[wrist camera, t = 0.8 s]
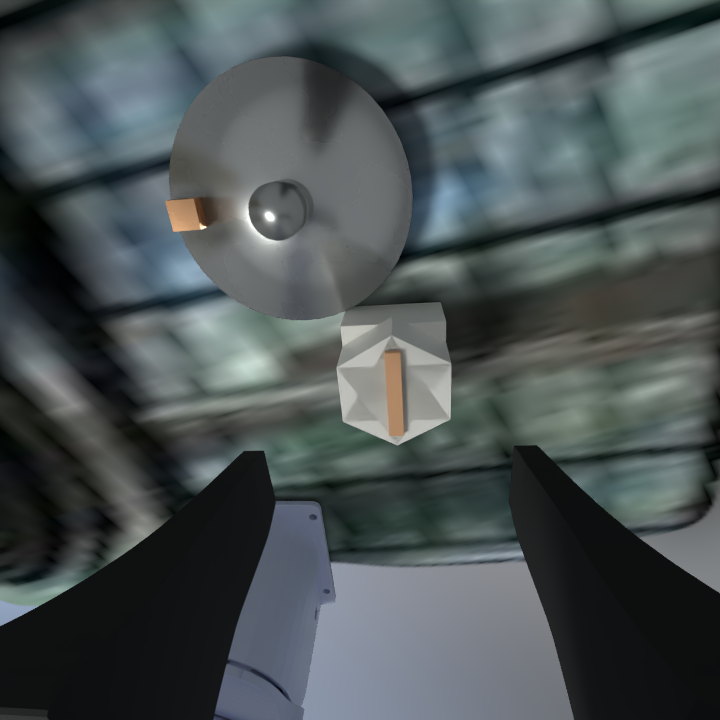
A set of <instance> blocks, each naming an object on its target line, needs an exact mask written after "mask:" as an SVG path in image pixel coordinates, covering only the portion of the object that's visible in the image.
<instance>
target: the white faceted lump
mask: <svg viewBox="0 0 720 720" xmlns="http://www.w3.org/2000/svg"><path fill="white" fill-rule="evenodd" d="M341 335H342V344H343V347H342V351H341V354H340V358H339V361H338V365H337V375H338V383H339V392H340V400H341V408H342V417H343V422H345V423H347V424H350V425H352V426H354V427H356V428H359V429H361V430H363V431H366V432H368V433H370V434H372V435H375V436H377V437H379V438H382V439H384V440H386V441H388V442H391V443H393V444H395V445H399V444H401V443H403V442H405V441H407V440H409V439H411V438H413V437H416V436H418V435H420V434H422V433H424V432H426V431H428V430H430V429H432V428H434V427H436V426H438V425H440V424H442V423H444V422H446V421H448V420H450V413H451V360H450V356H449V352H448V348H447V345H446V319H445V316H444V312H443V309H442V305H441V302H432V303H412V304H392V305H373V306H354V307H352V308H350V309H348V310H346V311H345V314H344V317H343V320H342V323H341Z"/></svg>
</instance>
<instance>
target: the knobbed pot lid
mask: <svg viewBox="0 0 720 720" xmlns="http://www.w3.org/2000/svg"><path fill="white" fill-rule="evenodd" d="M169 184H170V195H171V200H167V201H165V202H166V206H167V209H168V213H169V217H170V220H171V224H172V228H173V232H175V231H180V233H181V235H182V238H183V240H184V242H185V244H186V246H187V248H188V250H189V251H190V253H191V255H192V256H193V258H194V260H195V261H196V262H197V264H198V265H199V266H200V268H201V269H202V270H203V272H204V273H205V274H206V275H207V276H208V277H209V278H210V279H211V280H212V281H213V283H214V284H215V285H217V286H218V287H219V288H220V289H221V290H222V291H224V292H225V293H226V294H227V295H229V296H230V297H232V298H233V299H235V300H236V301H238V302H239V303H241V304H243V305H245V306H247V307H249V308H250V309H253V310H255V311H258V312H260V313H263V314H265V315H269V316H273V317H277V318H282V319H290V320H312V319H320V318H325V317H329V316H333V315H336V314H338V313H341V312H343V311H346V310H348V309H350V308H352V307H354V306H355V305H357V304H359V303H360V302H362V301H363V300H364V299H366V298H367V297H369V296H370V295H371V294H372V293H373V292H374V291H375V290H376V289H377V288H378V287H379V286H380V285H381V284H382V283H383V282H384V281H385V279H386V278H387V277H388V276H389V274H390V273H391V271H392V270H393V268H394V266H395V265H396V263H397V261H398V260H399V257H400V255H401V253H402V251H403V248H404V246H405V243H406V239H407V236H408V233H409V229H410V223H411V217H412V201H413V193H412V182H411V175H410V170H409V165H408V161H407V158H406V155H405V152H404V149H403V146H402V143H401V141H400V139H399V137H398V135H397V133H396V131H395V129H394V127H393V125H392V123H391V122H390V120H389V119H388V117H387V116H386V114H385V113H384V111H383V110H382V109H381V107H380V106H379V105H378V104H377V103H376V102H375V100H374V99H373V98H372V97H371V96H370V95H369V94H368V93H367V92H366V91H365V90H363V89H362V88H361V87H360V86H359V85H358V84H357V83H355V82H354V81H353V80H351V79H349V78H348V77H346V76H345V75H343V74H342V73H340V72H339V71H337V70H334V69H332V68H330V67H328V66H326V65H324V64H321V63H318V62H314V61H311V60H307V59H303V58H295V57H287V56H280V57H265V58H260V59H255V60H250V61H248V62H245V63H243V64H240V65H237V66H235V67H233V68H231V69H229V70H228V71H226V72H224V73H223V74H221V75H219V76H218V77H217V78H215V79H214V80H213V81H212V82H211V83H209V84H208V85H207V86H206V87H205V88H204V89H203V90H202V91H201V92H200V94H199V95H198V96H197V97H196V98H195V99H194V101H193V102H192V104H191V105H190V107H189V108H188V110H187V112H186V113H185V115H184V117H183V119H182V121H181V124H180V126H179V128H178V130H177V134H176V137H175V140H174V144H173V147H172V154H171V160H170V174H169Z"/></svg>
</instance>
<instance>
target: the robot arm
mask: <svg viewBox="0 0 720 720" xmlns="http://www.w3.org/2000/svg"><path fill="white" fill-rule="evenodd" d="M509 504H510V508H511V513H512V517H513V521H514V525H515V530H516V534H517V537H518V540H519V543H520V546H521V549H522V551H523V554H524V557H525V560H526V562H527V565H528V568H529V571H530V573H531V576H532V579H533V582H534V584H535V587H536V589H537V593H538V595H539V598H540V601H541V603H542V606H543V609H544V612H545V614H546V617H547V620H548V623H549V626H550V629H551V632H552V636H553V639H554V642H555V647H556V650H557V654H558V658H559V661H560V665H561V669H562V672H563V677H564V681H565V685H566V689H567V692H568V696H569V700H570V704H571V708H572V712H573V716H574V720H720V593H719V592H717V591H715V590H714V589H712V588H711V587H709V586H707V585H706V584H704V583H703V582H701V581H700V580H698V579H697V578H695V577H694V576H692V575H691V574H689V573H687V572H686V571H684V570H683V569H681V568H680V567H679V566H677V565H675V564H674V563H673V562H671V561H670V560H668V559H667V558H666V557H664V556H663V555H662V554H660V553H659V552H657V551H656V550H655V549H653V548H652V547H650V546H649V545H648V544H646V543H645V542H643V541H642V540H641V539H640V538H638V537H637V536H636V535H635V534H633V533H632V532H631V531H629V530H628V529H627V528H626V527H624V526H623V525H622V524H621V523H620V522H618V521H617V520H616V519H615V518H614V517H612V516H611V515H610V514H609V513H608V512H606V511H605V510H604V509H603V508H602V507H601V506H600V505H598V504H597V503H596V502H595V501H594V500H593V499H592V498H591V497H590V496H589V495H588V494H586V493H585V492H584V491H583V490H582V489H581V488H580V487H579V486H578V485H577V484H576V483H575V482H574V481H573V480H572V479H570V478H569V477H568V476H567V475H566V474H565V473H564V472H563V471H562V470H561V469H560V468H559V467H558V466H557V465H556V464H555V463H554V462H553V461H552V460H551V459H550V458H549V457H548V456H547V455H546V454H545V453H544V452H543V451H542V450H541V449H540V448H539V447H538V446H537V445H533V446H514V452H513V463H512V473H511V484H510V495H509ZM312 514H314V515H315V516H314V515H312ZM335 597H336V595H335V589H334V583H333V576H332V571H331V564H330V558H329V552H328V546H327V540H326V534H325V528H324V522H323V516H322V510H321V506H320V504H319V503H317V502H315V501H276V500H275V496H274V491H273V487H272V483H271V479H270V474H269V470H268V466H267V462H266V458H265V453H264V451H244V452H243V453H242V454H240V455H239V456H238V457H237V458H236V459H235V460H234V461H233V462H232V463H231V464H230V465H229V466H228V467H227V468H226V469H225V470H224V471H222V472H221V473H220V474H219V475H218V476H217V477H216V478H215V479H214V480H213V481H212V482H211V483H210V484H209V485H208V486H207V487H206V488H204V489H203V490H202V491H201V492H200V493H199V494H198V495H197V496H196V497H195V498H194V499H193V500H191V501H190V502H189V503H188V504H187V505H186V506H184V507H183V508H182V509H181V510H180V511H179V512H177V513H176V514H175V515H174V516H173V517H172V518H170V519H169V520H168V521H167V522H166V523H165V524H163V525H162V526H161V527H160V528H158V529H157V530H156V531H155V532H153V533H152V534H151V535H149V536H148V537H147V538H145V539H144V540H143V541H141V542H140V543H139V544H137V545H136V546H135V547H133V548H132V549H130V550H129V551H128V552H126V553H125V554H123V555H122V556H120V557H119V558H117V559H116V560H114V561H113V562H111V563H110V564H108V565H107V566H105V567H104V568H102V569H101V570H99V571H97V572H96V573H94V574H93V575H91V576H90V577H88V578H87V579H85V580H84V581H82V582H80V583H79V584H77V585H75V586H74V587H72V588H70V589H69V590H67V591H65V592H63V593H62V594H60V595H58V596H57V597H55V598H53V599H51V600H49V601H48V602H46V603H44V604H42V605H40V606H39V607H37V608H35V609H33V610H31V611H29V612H28V613H26V614H24V615H22V616H20V617H18V618H16V619H14V620H12V621H10V622H8V623H6V624H4V625H2V626H0V720H302V719H303V714H304V709H303V708H302V707H301V706H302V703H303V700H304V697H305V693H306V688H307V682H308V676H309V671H310V664H311V659H312V653H313V647H314V641H315V635H316V629H317V624H318V618H319V612H320V605H330V604H333V603H334V602H335Z"/></svg>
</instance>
